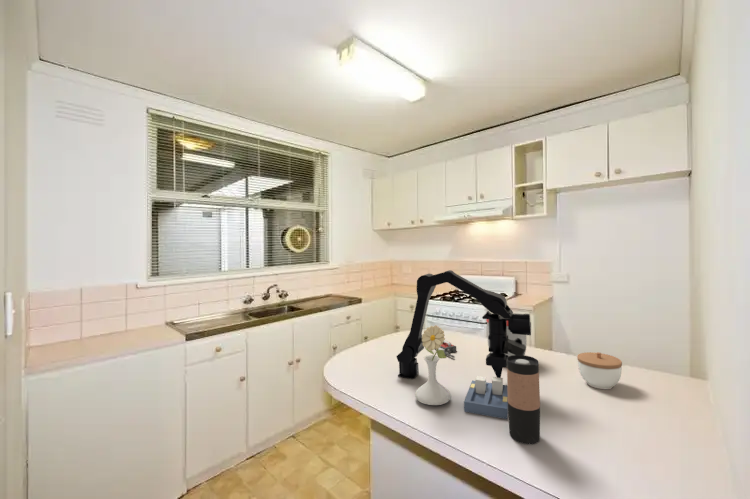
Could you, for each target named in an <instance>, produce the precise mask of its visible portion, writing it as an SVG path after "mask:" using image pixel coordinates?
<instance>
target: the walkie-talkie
mask: <svg viewBox="0 0 750 499" xmlns="http://www.w3.org/2000/svg"><path fill="white" fill-rule="evenodd" d="M438 350H443V351H444V353H445V355H446V357H450V358H451V357H452V358H454V359H455V358H456V356H455V355H453V354H452V353H457V346H456V345H454V344H452V342H450V341H448V340H444V342H443V344H442V345H441V347H440V348H439V349H438ZM436 351H437V350H436V349H435V352H436Z"/></svg>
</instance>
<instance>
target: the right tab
mask: <svg viewBox="0 0 750 499" xmlns="http://www.w3.org/2000/svg"><path fill="white" fill-rule="evenodd" d="M503 379H504V378H503V377H501V378H498V377H497V376H492V379H491V383H492V394H496V395H503V385H504V380H503Z"/></svg>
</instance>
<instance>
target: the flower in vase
mask: <svg viewBox="0 0 750 499" xmlns="http://www.w3.org/2000/svg"><path fill="white" fill-rule="evenodd" d="M444 341H446V338H445V331H444V330H443V329H442V328H441V327H439V326H438V325H430V326H429V327H426V329H425V330H423V333H422V342H423V343H422V345H423V346H424V349H425V350H426V351H427V353H430V355H429V354H428V355H426V356H424V357H423V360H424V361H425V363H426V365H427V369H428V379H427V381H425V382H424V383H423V384H422V385H420V386H419V387H418V388H417V389H416V391H415V394H414V395H415V399H416V400H417V401H418V402H420V403H422V404H424V405H429V406H442V405H445V404H447V403H449V401H450V400H451V398H452V395H451V392H450V391H449V390H448V389H447V388H446V387H445V386H444V385H443V384H441V383H440V382H439V381H438V379H437V375H436V373H437V372H436V371H437V364H438V362H439V360H440V359H447V357H448V356H447V355H445V353H444V351H443V350H438V349H439V348H440V347H441V345H442V344H443V342H444ZM434 350H435V353H434ZM436 350H437V351H436ZM431 354H432V355H431Z"/></svg>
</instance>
